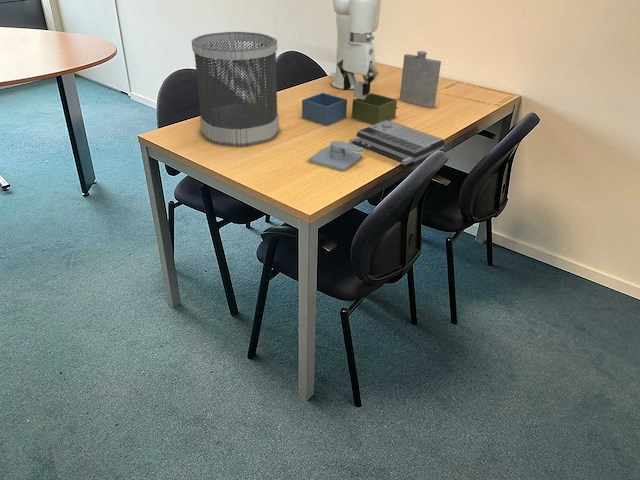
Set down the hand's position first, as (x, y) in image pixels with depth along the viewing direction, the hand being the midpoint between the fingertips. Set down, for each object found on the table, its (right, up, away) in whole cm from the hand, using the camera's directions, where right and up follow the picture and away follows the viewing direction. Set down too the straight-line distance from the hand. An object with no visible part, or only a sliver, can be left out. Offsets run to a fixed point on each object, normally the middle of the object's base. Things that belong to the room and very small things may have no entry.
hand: (356, 91), depth 178 cm
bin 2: (+8, -5, +18) cm, 20 cm away
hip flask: (+26, +5, +33) cm, 43 cm away
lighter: (0, -2, +1) cm, 2 cm away
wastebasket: (-40, -13, +3) cm, 42 cm away
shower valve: (-6, -26, -15) cm, 31 cm away
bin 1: (-11, -5, +17) cm, 20 cm away
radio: (+12, -21, -7) cm, 25 cm away
